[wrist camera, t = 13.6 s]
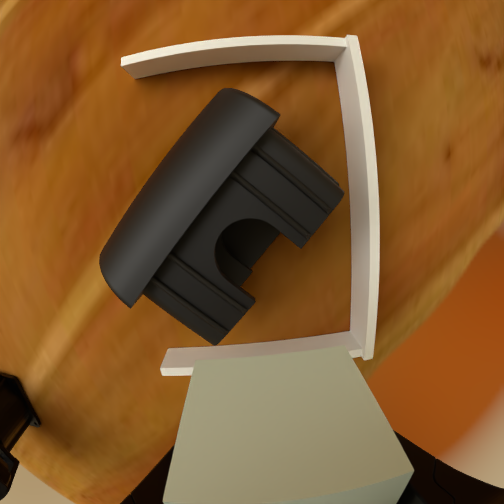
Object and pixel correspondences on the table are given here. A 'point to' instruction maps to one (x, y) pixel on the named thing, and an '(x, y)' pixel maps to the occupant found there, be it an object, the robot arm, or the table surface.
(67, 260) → the table surface
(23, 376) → the table surface
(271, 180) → the end cap
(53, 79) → the table surface
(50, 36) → the table surface
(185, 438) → the block
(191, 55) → the white u-shaped frame
